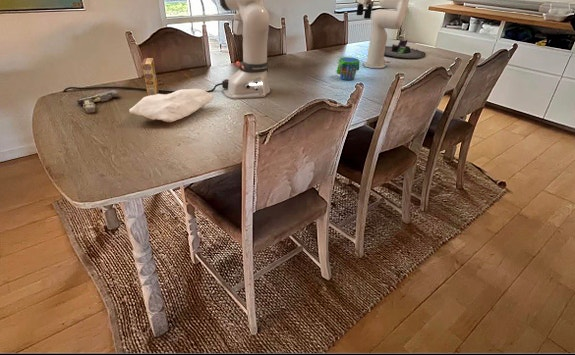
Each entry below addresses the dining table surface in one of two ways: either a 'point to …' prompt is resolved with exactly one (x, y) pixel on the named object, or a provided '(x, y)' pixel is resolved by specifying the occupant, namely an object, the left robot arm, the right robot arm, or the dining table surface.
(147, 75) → the candy box
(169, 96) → the crumpled cloth
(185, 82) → the dining table surface
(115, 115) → the dining table surface
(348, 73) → the snack cup
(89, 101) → the handgun
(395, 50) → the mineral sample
